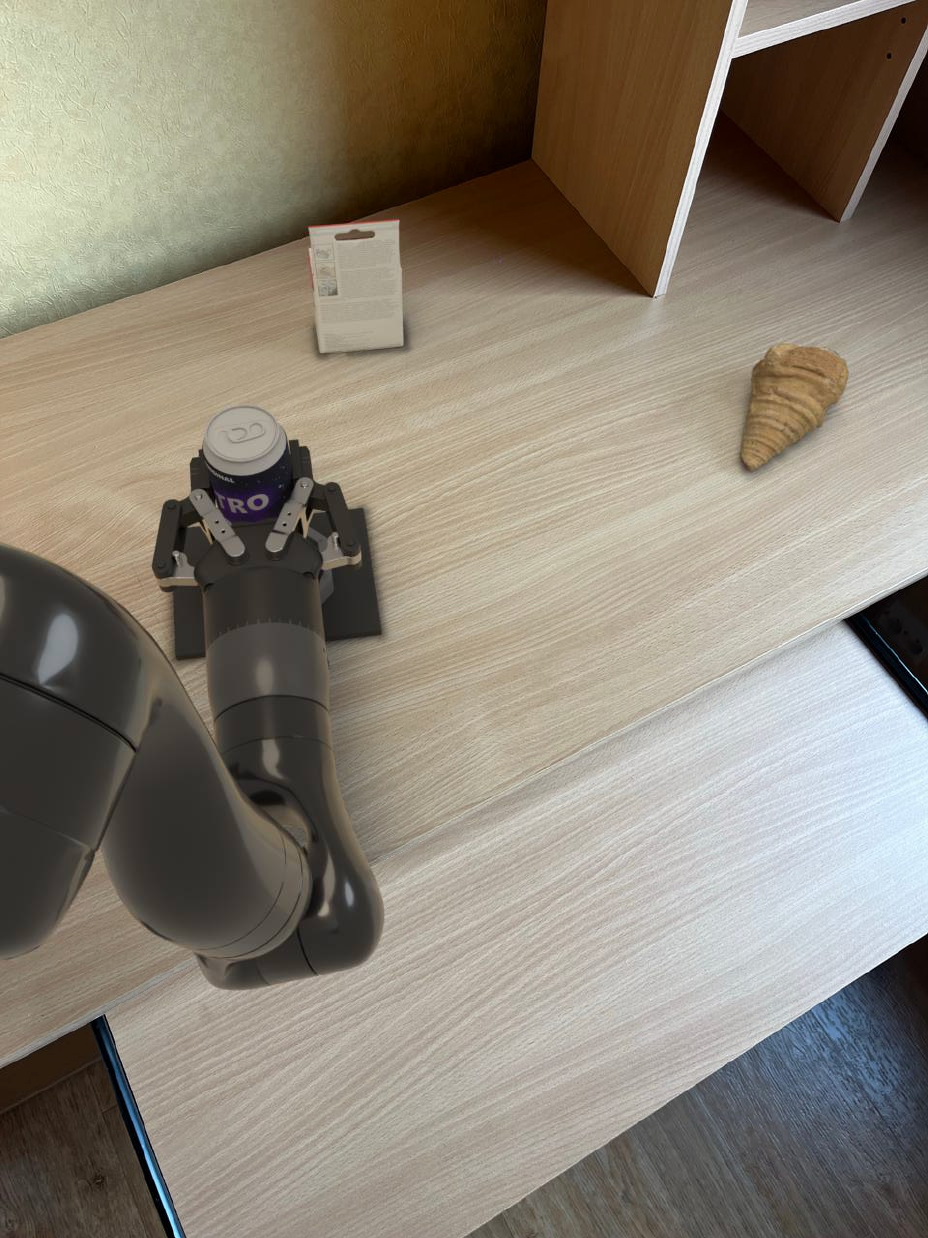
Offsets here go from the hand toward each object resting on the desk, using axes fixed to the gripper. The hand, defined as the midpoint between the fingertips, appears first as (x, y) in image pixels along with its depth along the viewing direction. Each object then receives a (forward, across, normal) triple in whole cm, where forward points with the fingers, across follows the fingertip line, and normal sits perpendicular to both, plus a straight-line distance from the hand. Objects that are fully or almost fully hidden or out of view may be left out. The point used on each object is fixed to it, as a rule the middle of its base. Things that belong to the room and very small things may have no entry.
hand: (250, 452), depth 75 cm
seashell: (+9, -47, +14) cm, 50 cm away
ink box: (+24, -10, +14) cm, 29 cm away
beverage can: (-2, 0, +7) cm, 8 cm away
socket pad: (-2, 0, +14) cm, 14 cm away
